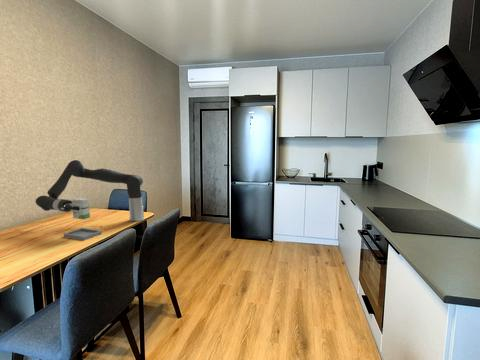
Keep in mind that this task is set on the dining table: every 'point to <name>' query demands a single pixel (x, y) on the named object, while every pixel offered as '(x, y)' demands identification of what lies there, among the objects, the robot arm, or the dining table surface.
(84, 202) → the ink box
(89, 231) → the tray
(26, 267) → the dining table surface
